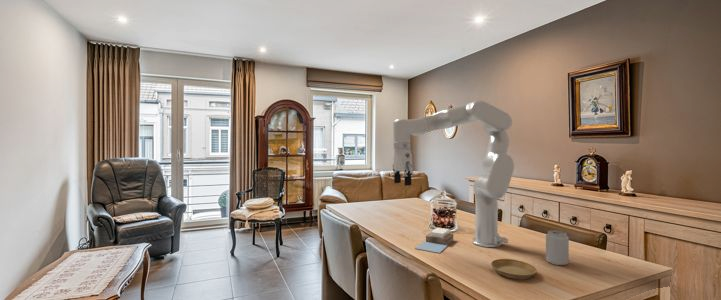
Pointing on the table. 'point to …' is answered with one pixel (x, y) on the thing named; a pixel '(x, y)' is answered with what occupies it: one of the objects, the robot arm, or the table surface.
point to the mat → (431, 247)
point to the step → (440, 239)
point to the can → (557, 247)
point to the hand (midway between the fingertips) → (402, 184)
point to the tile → (440, 232)
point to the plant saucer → (513, 268)
